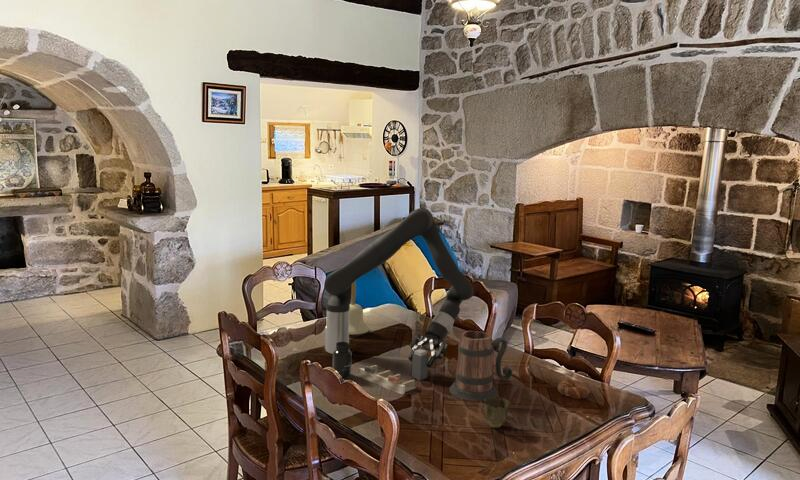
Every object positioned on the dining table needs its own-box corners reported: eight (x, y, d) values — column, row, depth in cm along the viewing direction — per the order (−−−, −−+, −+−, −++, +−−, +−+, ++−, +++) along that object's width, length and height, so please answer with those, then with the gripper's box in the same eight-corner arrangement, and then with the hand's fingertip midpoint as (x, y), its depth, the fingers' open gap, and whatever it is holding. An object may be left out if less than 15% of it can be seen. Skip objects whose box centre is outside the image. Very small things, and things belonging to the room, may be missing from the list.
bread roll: (549, 389, 207) (549, 379, 207) (574, 385, 212) (574, 375, 211) (571, 402, 197) (572, 391, 196) (597, 397, 201) (598, 387, 200)
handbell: (328, 333, 264) (328, 278, 260) (349, 325, 276) (350, 273, 272) (355, 339, 255) (356, 283, 251) (376, 332, 267) (377, 278, 264)
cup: (480, 420, 180) (481, 396, 179) (504, 420, 180) (505, 395, 179) (486, 432, 172) (487, 406, 171) (510, 432, 173) (512, 406, 172)
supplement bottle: (348, 379, 210) (348, 347, 208) (329, 377, 211) (330, 345, 209) (353, 373, 216) (354, 341, 215) (335, 371, 218) (336, 339, 216)
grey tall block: (411, 377, 214) (412, 350, 213) (419, 374, 217) (420, 348, 215) (420, 380, 211) (420, 353, 210) (427, 377, 214) (428, 351, 213)
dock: (358, 376, 213) (359, 364, 212) (373, 371, 218) (373, 359, 217) (402, 394, 198) (402, 381, 197) (416, 389, 203) (417, 376, 202)
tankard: (464, 403, 192) (467, 344, 189) (440, 385, 207) (442, 330, 204) (524, 393, 202) (527, 337, 199) (496, 376, 217) (499, 324, 214)
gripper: (421, 317, 222) (399, 352, 215) (450, 325, 212) (428, 363, 205) (430, 328, 226) (409, 363, 220) (459, 336, 216) (437, 373, 210)
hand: (418, 363), depth 213 cm, fingers open, 8 cm apart
